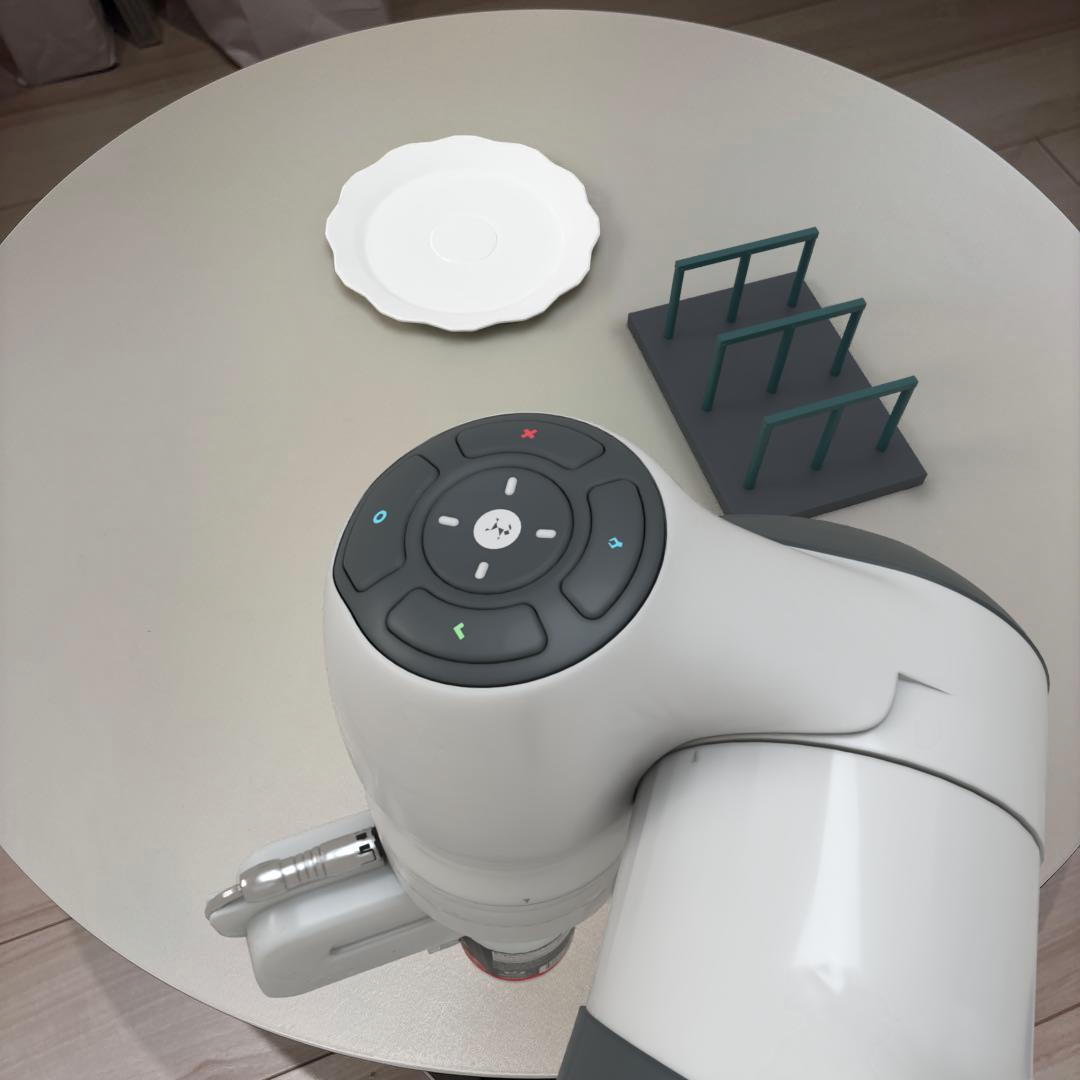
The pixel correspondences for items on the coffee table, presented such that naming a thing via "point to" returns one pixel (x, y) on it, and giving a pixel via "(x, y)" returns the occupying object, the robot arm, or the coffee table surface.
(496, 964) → the pill bottle
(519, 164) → the plate
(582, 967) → the coffee table surface
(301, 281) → the coffee table surface
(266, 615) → the coffee table surface
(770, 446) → the rack
